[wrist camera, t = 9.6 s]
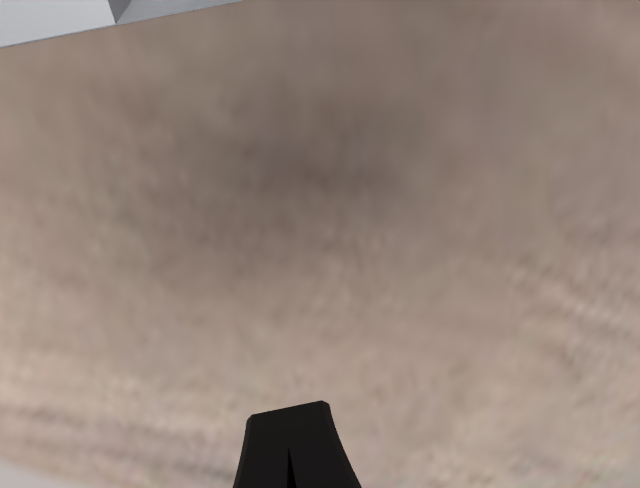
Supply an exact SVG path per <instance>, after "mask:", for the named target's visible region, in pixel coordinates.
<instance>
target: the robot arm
mask: <svg viewBox="0 0 640 488" xmlns="http://www.w3.org/2000/svg"><path fill="white" fill-rule="evenodd" d="M233 488H362V487H361V485H360V483H359V481H358V479H357V477H356V475H355V473H354V471H353V469H352V467H351V464H350V462H349V460H348V458H347V455H346V453H345V451H344V449H343V446H342V444H341V441H340V439H339V436H338V433H337V431H336V428H335V425H334V422H333V418H332V415H331V410H330V406H329V404H328V403H326V402H324V401H322V400H321V401H316V402H311V403H307V404H302V405H297V406H292V407H287V408H282V409H278V410H273V411H268V412H263V413H258V414H253V415H251V416H250V418H249V419H248V420H247V423H246V430H245V436H244V442H243V447H242V452H241V457H240V461H239V465H238V470H237V474H236V477H235V481H234V485H233Z"/></svg>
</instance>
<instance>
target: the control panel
mask: <svg viewBox="0 0 640 488" xmlns="http://www.w3.org/2000/svg"><path fill="white" fill-rule="evenodd" d="M238 1H243V0H0V48H4V47H9V46H14V45H19V44H24V43H30V42H35V41H40V40H45V39H50V38H55V37H60V36H65V35H70V34H75V33H80V32H86V31H91V30H96V29H101V28H106V27H111V26H116V25H121V24H126V23H131V22H136V21H142V20H147V19H152V18H157V17H162V16H167V15H172V14H177V13H182V12H187V11H192V10H198V9H203V8H208V7H213V6H218V5H223V4H228V3H233V2H238Z"/></svg>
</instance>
